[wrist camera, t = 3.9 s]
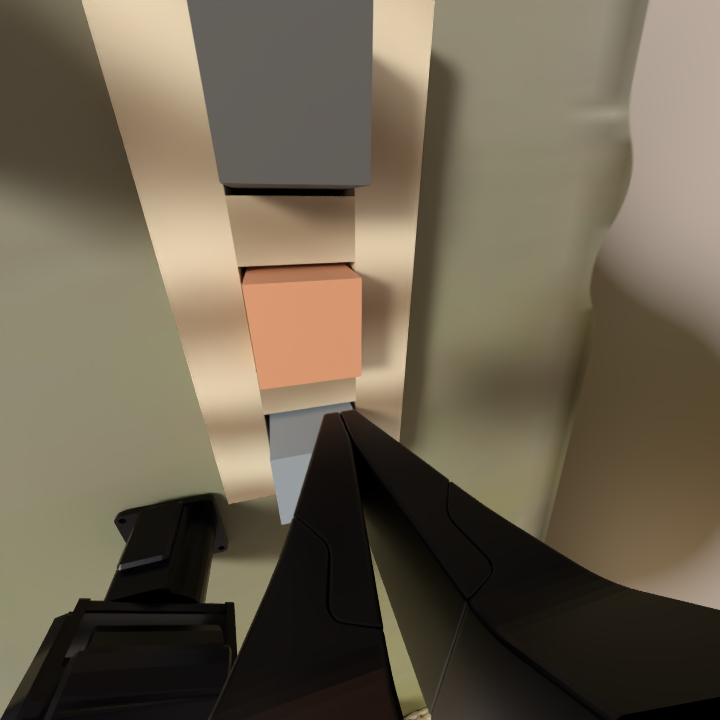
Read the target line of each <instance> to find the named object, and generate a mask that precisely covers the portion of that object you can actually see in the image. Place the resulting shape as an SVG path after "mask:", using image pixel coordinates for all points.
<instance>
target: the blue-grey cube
mask: <svg viewBox="0 0 720 720" xmlns="http://www.w3.org/2000/svg"><path fill="white" fill-rule="evenodd" d="M346 410H352V406H351V404H350V402H345V403H339V404H332V405H326V406H319V407H312V408H306V409H299V410H293V411H286V412H279V413H273V414H270V464H271V469H272V475H273V480H274V486H275V491H276V497H277V502H278V508H279V513H280V519H281V524H282V525H283V524H288V523H291V520H292V518H294V517H293V515H294V511H295V508H296V505H297V501H298V498H299V495H300V491H301V488H302V485H303V482H304V478H305V475H306V472H307V468H308V465H309V462H310V458H311V455H312V452H313V448H314V445H315V442H316V439H317V435H318V432H319V429H320V425H321V422H322V419H323V416H324V414H326V413H333V412H339V413H340V412H341V411H346Z"/></svg>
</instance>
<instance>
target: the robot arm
mask: <svg viewBox="0 0 720 720" xmlns="http://www.w3.org/2000/svg"><path fill="white" fill-rule="evenodd" d="M293 517H294V518H292V520H291V524H290V527H289V530H288V534H287V537H286V540H285V543H284V545H283V548H282V551H281V554H280V557H279V560H278V563H277V565H276V568H275V570H274V573H273V575H272V577H271V580H270V582H269V585H268V587H267V590H266V592H265V594H264V597H263V599H262V601H261V603H260V606H259V608H258V610H257V613H256V615H255V617H254V619H253V622H252V624H251V626H250V628H249V631H248V633H247V635H246V637H245V640H244V642H243V644H242V647H241V649H240V651H239V653H238V656H237V642H236V626H235V609H234V602H225V604H216V603H205V600H206V594H207V587H208V581H209V575H210V569H211V562H212V556H213V554H215V553H219V552H223V551H225V550H227V548H228V540H227V537H226V533H225V530H224V527H223V524H222V521H221V518H220V515H219V512H218V508H217V505H216V502H215V499H214V497H213V496H211V495H203V496H198V497H193V498H188V499H183V500H178V501H173V502H168V503H163V504H158V505H153V506H148V507H143V508H138V509H133V510H128V511H123V512H120V513H118V514H117V516H116V518H115V520H114V523H115V525H116V526H117V528H118V530H119V532H120V533H121V535H122V537H123V539H124V540H125V542H126V546H125V548H124V551H123V553H122V555H121V558H120V560H119V563H118V565H117V570H116V572H115V575H114V577H113V580H112V582H111V585H110V587H109V589H108V592H107V594H106V597H105V599H104V601H90V600H91V599H89V598H80V599H79V601H78V603H77V605H76V607H75V609H74V611H73V612H69V613H67V614H65V615H62V616H60V617H57V618H55V619H54V621H53V623H52V625H51V627H50V629H49V631H48V633H47V635H46V637H45V639H44V641H43V643H42V644H41V646H40V648H39V650H38V652H37V654H36V656H35V658H34V660H33V661H32V663H31V665H30V667H29V669H28V670H27V672H26V674H25V676H24V678H23V679H22V681H21V683H20V685H19V687H18V688H17V690H16V692H15V694H14V696H13V697H12V699H11V701H10V703H9V704H8V706H7V708H6V710H5V712H4V714H3V716H2V718H1V720H404V718H403V714H402V711H401V707H400V703H399V700H398V696H397V692H396V689H395V685H394V681H393V676H392V671H391V666H390V662H389V657H388V652H387V646H386V641H385V635H384V632H383V623H382V617H381V611H380V605H379V600H378V594H377V588H376V582H375V576H374V570H373V564H372V558H371V553H370V547H371V549H372V552H373V555H374V558H375V561H376V564H377V566H378V569H379V572H380V575H381V578H382V581H383V584H384V586H385V589H386V592H387V595H388V598H389V601H390V603H391V606H392V609H393V612H394V615H395V618H396V620H397V623H398V626H399V629H400V632H401V635H402V637H403V640H404V643H405V646H406V649H407V652H408V655H409V657H410V660H411V663H412V666H413V669H414V672H415V674H416V677H417V680H418V683H419V686H420V689H421V691H422V694H423V697H424V700H425V703H426V706H427V708H428V711H429V714H430V715H431V720H720V610H718V609H713V608H709V607H705V606H701V605H696V604H693V603H689V602H684V601H680V600H676V599H672V598H668V597H664V596H659V595H655V594H651V593H647V592H643V591H639V590H635V589H631V588H628V587H625V586H622V585H620V584H617V583H614V582H612V581H610V580H607V579H605V578H603V577H601V576H599V575H597V574H595V573H593V572H591V571H589V570H587V569H585V568H584V567H582V566H580V565H579V564H577V563H575V562H574V561H572V560H570V559H568V558H567V557H565V556H564V555H562V554H561V553H559V552H557V551H556V550H554V549H553V548H551V547H549V546H548V545H546V544H545V543H543V542H541V541H540V540H538V539H537V538H535V537H533V536H532V535H530V534H528V533H527V532H525V531H524V530H522V529H520V528H519V527H517V526H516V525H514V524H512V523H511V522H509V521H508V520H506V519H505V518H503V517H502V516H500V515H498V514H497V513H495V512H494V511H492V510H491V509H489V508H488V507H486V506H485V505H483V504H482V503H480V502H479V501H478V500H476V499H475V498H473V497H472V496H471V495H469V494H468V493H466V492H465V491H464V490H462V489H461V488H460V487H458V486H457V485H456V484H454V483H453V482H449V479H447V478H446V477H445V476H443V475H442V474H441V473H439V472H438V471H437V470H435V469H434V468H433V467H431V466H430V465H429V464H427V463H426V462H425V461H423V460H422V459H421V458H419V457H418V456H417V455H415V454H414V453H413V452H411V451H410V450H409V449H407V448H406V447H405V446H403V445H402V444H401V443H399V442H398V441H397V440H395V439H394V438H392V437H391V436H390V435H388V434H387V433H386V432H384V431H383V430H382V429H380V428H379V427H378V426H376V425H375V424H374V423H372V422H371V421H370V420H368V419H367V418H366V417H364V416H363V415H362V414H360V413H359V412H358V411H356V410H354V409H352V410H346V411H341V412H340V413H339V412H333V413H326V414H324V416H323V419H322V422H321V425H320V429H319V432H318V435H317V439H316V442H315V445H314V448H313V452H312V455H311V458H310V462H309V465H308V468H307V472H306V475H305V478H304V482H303V485H302V488H301V491H300V495H299V498H298V501H297V505H296V508H295V511H294V515H293ZM369 544H370V547H369Z"/></svg>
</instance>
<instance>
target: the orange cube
mask: <svg viewBox="0 0 720 720" xmlns="http://www.w3.org/2000/svg"><path fill="white" fill-rule="evenodd" d="M242 289H243V295H244V301H245V306H246V312H247V318H248V323H249V329H250V335H251V341H252V346H253V352H254V358H255V363H256V369H257V375H258V380H259V386H260V390H262V389H270V388H277V387H285V386H292V385H300V384H308V383H315V382H323V381H330V380H338V379H345V378H353V377H360V376H361V331H362V278H361V277H360V276H359V275H357V274H356V273H355V272H354V271H352V270H351V269H350V268H349V267H348V266H346V265H345V264H344V263H343V262H335V263H312V264H290V265H267V266H248V267H247V270H246V273H245V276H244V279H243V283H242Z"/></svg>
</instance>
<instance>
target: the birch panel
mask: <svg viewBox="0 0 720 720" xmlns="http://www.w3.org/2000/svg"><path fill="white" fill-rule="evenodd" d="M82 3H83V7H84V10H85V14H86V17H87V20H88V24H89V27H90V31H91V34H92V38H93V41H94V44H95V48H96V51H97V55H98V58H99V62H100V65H101V68H102V72H103V75H104V79H105V82H106V86H107V89H108V92H109V96H110V99H111V103H112V106H113V110H114V113H115V116H116V120H117V123H118V127H119V130H120V134H121V137H122V140H123V144H124V147H125V151H126V154H127V158H128V161H129V164H130V168H131V171H132V175H133V178H134V182H135V185H136V188H137V192H138V195H139V199H140V202H141V206H142V209H143V212H144V216H145V219H146V223H147V226H148V230H149V233H150V236H151V240H152V243H153V247H154V250H155V254H156V257H157V260H158V264H159V267H160V271H161V274H162V278H163V281H164V284H165V288H166V291H167V295H168V298H169V302H170V305H171V308H172V312H173V315H174V319H175V322H176V326H177V329H178V332H179V336H180V339H181V343H182V346H183V350H184V353H185V356H186V360H187V363H188V367H189V370H190V374H191V377H192V380H193V384H194V387H195V391H196V394H197V398H198V401H199V404H200V408H201V411H202V415H203V418H204V422H205V425H206V428H207V432H208V435H209V439H210V442H211V446H212V449H213V452H214V456H215V459H216V463H217V466H218V470H219V473H220V476H221V480H222V483H223V487H224V490H225V494H226V497H227V500H228V504H232V503H237V502H242V501H246V500H251V499H256V498H261V497H265V496H270V495H275V494H276V491H275V486H274V480H273V475H272V469H271V464H270V419H269V414H273V413H279V412H286V411H293V410H299V409H306V408H312V407H319V406H326V405H332V404H339V403H345V402H350V404H351V406H352V409H354V410H356V411H358V412H359V413H360V414H362V415H363V416H364V417H366V418H367V419H368V420H370V421H371V422H372V423H374V424H375V425H376V426H378V427H379V428H380V429H382V430H383V431H384V432H386V433H387V434H388V435H390V436H391V437H392V438H394V439H395V440H397V441H398V442H399V439H400V426H401V414H402V401H403V389H404V377H405V364H406V352H407V339H408V327H409V315H410V302H411V290H412V277H413V265H414V252H415V240H416V228H417V215H418V203H419V190H420V178H421V165H422V153H423V141H424V128H425V116H426V103H427V91H428V79H429V66H430V54H431V41H432V29H433V16H434V4H435V0H373V60H372V123H371V185H370V186H363V187H357V188H351V189H344V190H341V196H232V192H231V187H229V186H226V185H224V184H221V183H220V182H219V176H218V171H217V165H216V160H215V154H214V149H213V143H212V138H211V132H210V126H209V121H208V115H207V110H206V104H205V99H204V93H203V88H202V82H201V77H200V71H199V66H198V60H197V55H196V49H195V44H194V38H193V33H192V27H191V22H190V16H189V10H188V5H187V0H82ZM335 262H343V263H344V264H345V265H346V266H348V267H349V268H350V269H351V270H352V271H354V272H355V273H356V274H357V275H359V276H360V277H361V278H362V331H361V376H360V377H353V378H345V379H338V380H330V381H323V382H315V383H308V384H300V385H292V386H285V387H277V388H270V389H262V390H260V386H259V380H258V375H257V369H256V363H255V358H254V352H253V346H252V341H251V335H250V329H249V323H248V318H247V312H246V306H245V301H244V295H243V289H242V283H243V279H244V276H245V269H244V266H267V265H290V264H312V263H335Z"/></svg>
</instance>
